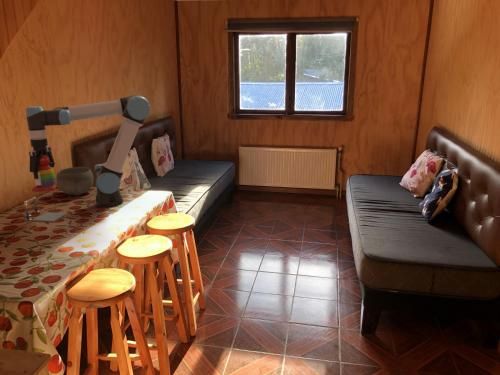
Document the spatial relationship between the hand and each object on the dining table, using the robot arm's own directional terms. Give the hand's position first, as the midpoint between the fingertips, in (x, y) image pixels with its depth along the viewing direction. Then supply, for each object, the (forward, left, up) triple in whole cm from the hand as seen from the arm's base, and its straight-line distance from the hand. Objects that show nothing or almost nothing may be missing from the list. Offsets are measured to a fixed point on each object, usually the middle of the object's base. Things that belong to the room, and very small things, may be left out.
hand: (44, 182), depth 215 cm
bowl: (+11, -43, -19) cm, 48 cm away
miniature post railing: (+11, -1, -19) cm, 22 cm away
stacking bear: (0, 0, -4) cm, 4 cm away
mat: (0, 0, -19) cm, 19 cm away
